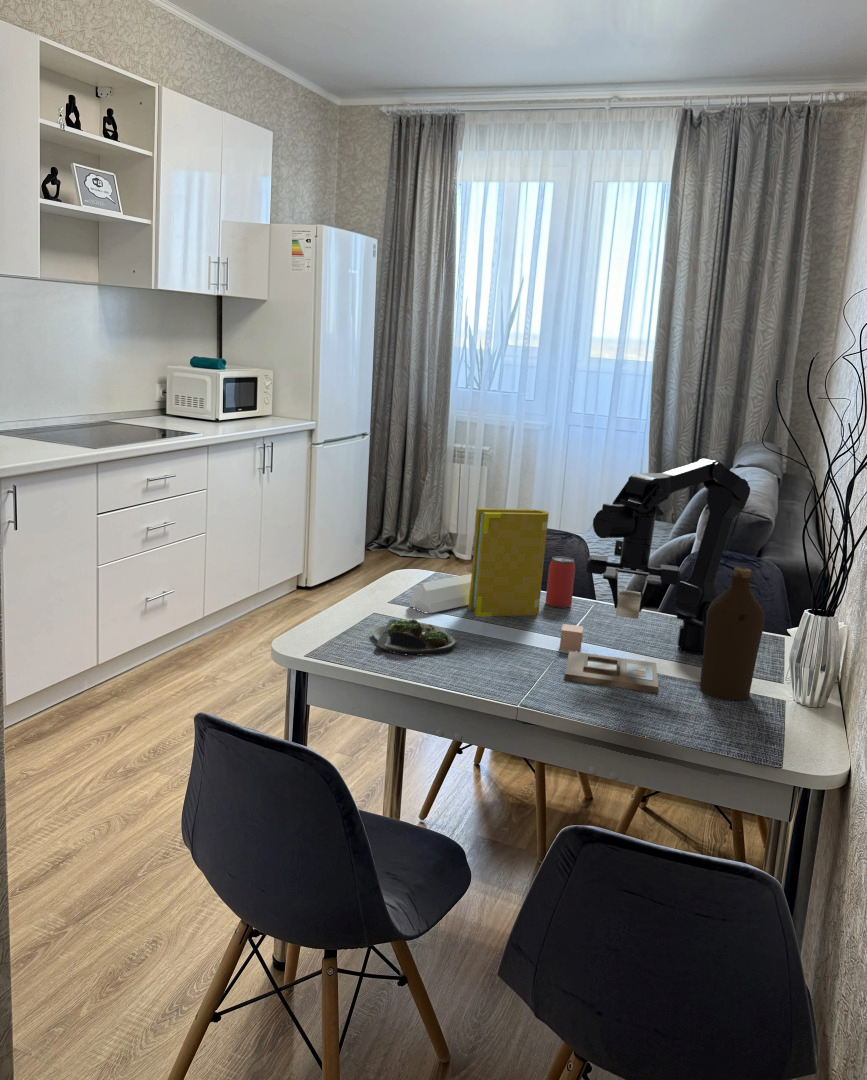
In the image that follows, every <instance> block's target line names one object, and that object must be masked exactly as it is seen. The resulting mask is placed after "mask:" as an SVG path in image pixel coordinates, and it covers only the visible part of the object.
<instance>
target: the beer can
mask: <svg viewBox="0 0 867 1080" xmlns="http://www.w3.org/2000/svg"><path fill="white" fill-rule="evenodd" d="M575 574H576V565H575V559H574V558H571V557H568V556H554V557H553V556H552V558H551V561H550V563H549V566H548V576H547V584H546V585H547V586H546V595H545V603H546V604H547V606H549V607H553V608H556V609H557V608H560V609H566V608H569V607H570V606H572V601H573V595H574V594H573V593H574V592H573V591H574V583H575V576H576V575H575Z"/></svg>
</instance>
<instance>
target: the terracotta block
mask: <svg viewBox="0 0 867 1080" xmlns="http://www.w3.org/2000/svg"><path fill="white" fill-rule="evenodd" d="M560 633H561V634H560V642H559V650H560V649H562V650H561V651H567V650H569V651H573V652H575V651H577V652H581V650H582V644H583V643H582V641H583V634H584V626H580V625H575V624H574V625H572V624H565V623H562V627H561V632H560ZM569 651H568V652H569Z"/></svg>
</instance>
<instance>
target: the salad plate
mask: <svg viewBox="0 0 867 1080" xmlns="http://www.w3.org/2000/svg"><path fill="white" fill-rule="evenodd" d="M422 632H425V634H422ZM371 633H372V636H373V638H375V640H376V641H377V642H376V646H377V647H379V648H380V649H383V650H384V651H386V650H387V651H386V652H388V651H391V652H395V653H399V654H407V655H406V656H408V655H414V656H421V655H420V654H435V655H441V654H440V653H442V654H446V653H449V652H450V651H451V650H453V649H454V648H455V646H456V644H457V643H456V639H455V638H454V637H452V636H451V635H450V634H449V633H447V632H446V631H445V630H444V629H443V628H442V627H439V626H438V625H435V624H428V623H420V622H419V621H417V620H416V619H414V618H412V619H409V620H404V618H400V619H399V620H397V619H396V618H395V619H394V618H393V619H392V618H391V619H389V620H388V623H387V625H381V626H378V627H376V628H375V627H374V629H372V631H371ZM448 651H449V652H448ZM391 652H390V653H391ZM445 652H446V653H445ZM399 654H398V655H399ZM418 654H419V655H418Z"/></svg>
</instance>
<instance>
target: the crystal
mask: <svg viewBox="0 0 867 1080" xmlns="http://www.w3.org/2000/svg"><path fill="white" fill-rule="evenodd" d="M471 577H472V573H469V574H464V575H463V574H462V575H458V576H453V577H447V578H442V579H437V580H432V581H425V582H422V583H420V584H419V585H418V586H416V588H415V589H414V591H413V593H412V594H411V597H410V599H409V601H410V602H409V604H410V606H412V607H413V608H415V609H418V610H420V611H423V612H427V614H433V613H438V612H443V611H447V610H451V609H455V608H459V607H460V608H461V607H465V606H468V605H469V595H470V589H471ZM412 607H411V608H412ZM413 608H412V609H413ZM415 609H414V610H415ZM418 610H417V611H418ZM420 611H419V612H420ZM423 612H422V613H423Z"/></svg>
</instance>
